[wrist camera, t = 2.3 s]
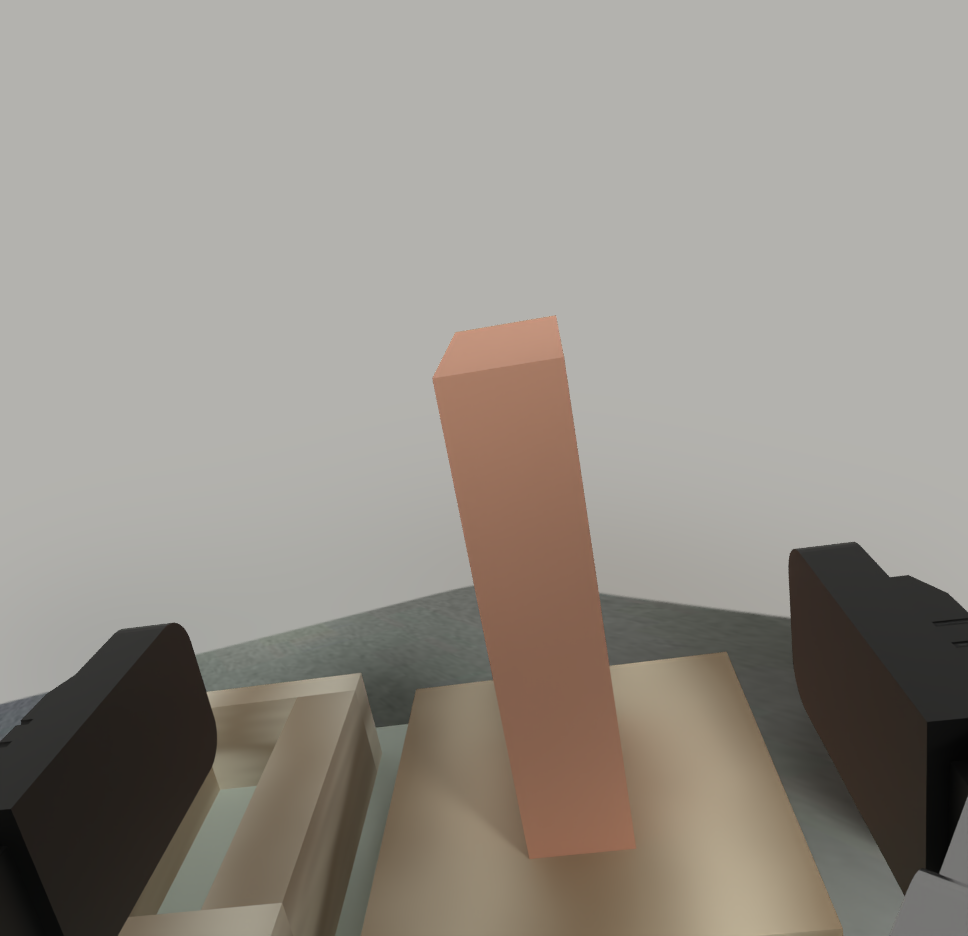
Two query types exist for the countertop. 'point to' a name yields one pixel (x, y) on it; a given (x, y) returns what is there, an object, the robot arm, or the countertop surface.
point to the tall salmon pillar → (536, 582)
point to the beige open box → (277, 812)
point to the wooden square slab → (613, 874)
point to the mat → (229, 813)
